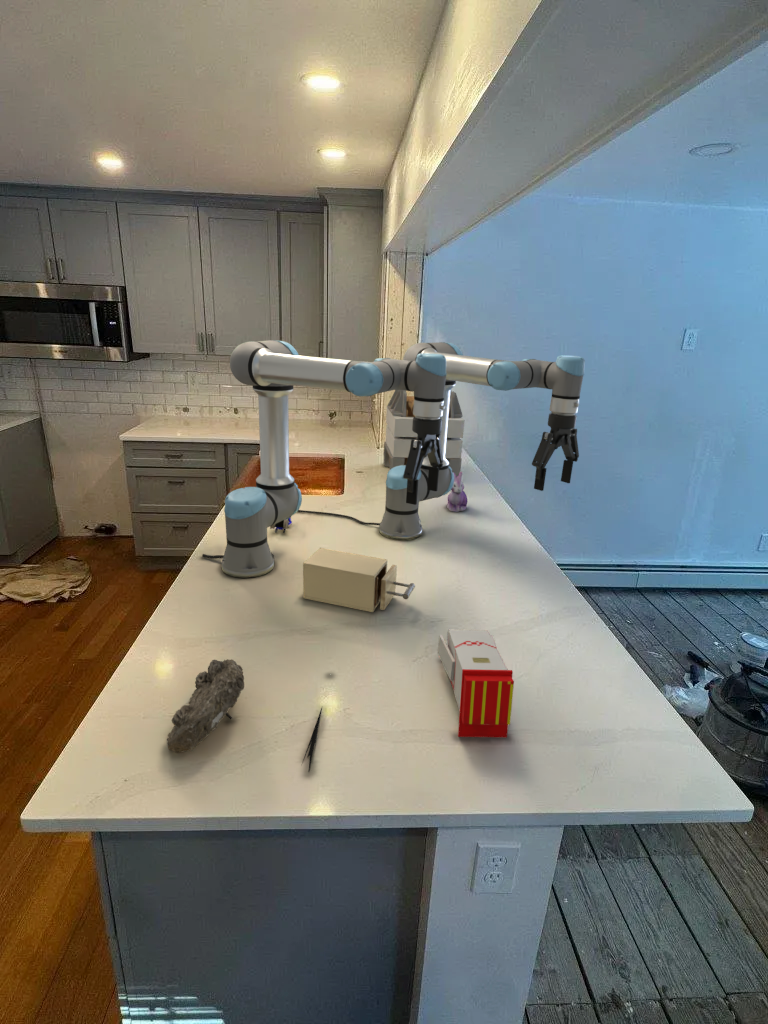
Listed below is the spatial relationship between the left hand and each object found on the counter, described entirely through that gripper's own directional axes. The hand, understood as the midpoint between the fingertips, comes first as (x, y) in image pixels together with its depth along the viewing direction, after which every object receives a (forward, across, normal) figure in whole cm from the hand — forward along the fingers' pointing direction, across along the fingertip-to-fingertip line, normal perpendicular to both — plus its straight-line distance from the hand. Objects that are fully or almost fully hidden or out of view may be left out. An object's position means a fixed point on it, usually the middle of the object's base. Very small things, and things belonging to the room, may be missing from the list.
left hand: (422, 496), depth 151 cm
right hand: (0, +32, -27) cm, 42 cm away
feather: (+28, -58, -6) cm, 65 cm away
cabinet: (+28, -13, +15) cm, 35 cm away
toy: (+28, -35, -29) cm, 53 cm away
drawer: (+27, -12, +9) cm, 31 cm away
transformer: (+28, +112, +50) cm, 125 cm away
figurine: (+28, +73, +16) cm, 80 cm away
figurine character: (+28, +18, +60) cm, 69 cm away
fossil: (+28, -68, +12) cm, 74 cm away
